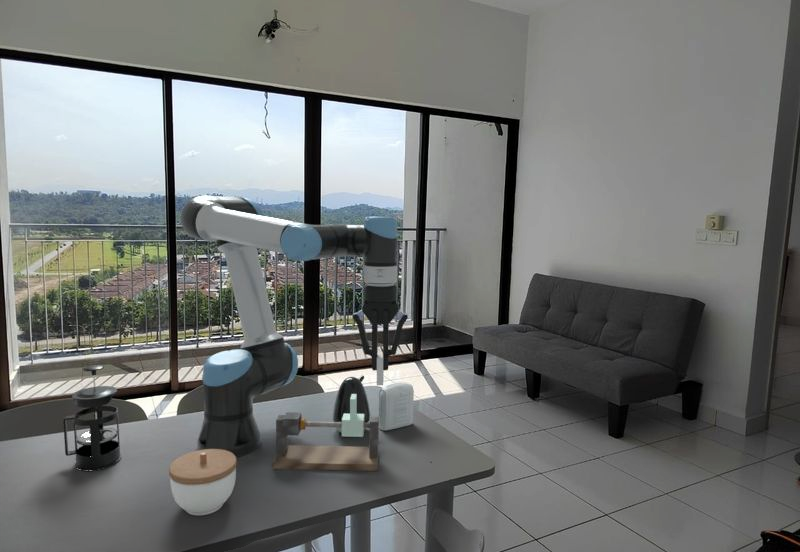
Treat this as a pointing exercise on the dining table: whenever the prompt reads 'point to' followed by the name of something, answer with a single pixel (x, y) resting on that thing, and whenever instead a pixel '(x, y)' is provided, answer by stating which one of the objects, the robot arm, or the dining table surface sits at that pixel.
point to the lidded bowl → (203, 480)
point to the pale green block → (353, 420)
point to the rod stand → (322, 447)
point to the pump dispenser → (343, 400)
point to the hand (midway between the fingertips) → (380, 383)
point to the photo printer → (396, 406)
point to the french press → (94, 427)
